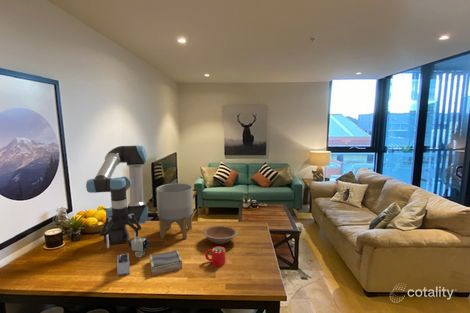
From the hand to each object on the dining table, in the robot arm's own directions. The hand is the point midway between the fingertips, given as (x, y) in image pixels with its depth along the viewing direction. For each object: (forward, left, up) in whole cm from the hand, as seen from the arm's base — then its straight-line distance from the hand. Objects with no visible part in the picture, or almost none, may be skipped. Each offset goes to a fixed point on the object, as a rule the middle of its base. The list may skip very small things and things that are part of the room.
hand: (122, 244), depth 141 cm
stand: (+4, +22, -15) cm, 27 cm away
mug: (+12, +49, -16) cm, 53 cm away
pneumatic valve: (-13, +9, -15) cm, 22 cm away
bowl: (-11, +61, -16) cm, 63 cm away
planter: (-36, +35, -15) cm, 53 cm away
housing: (0, 0, -15) cm, 15 cm away
